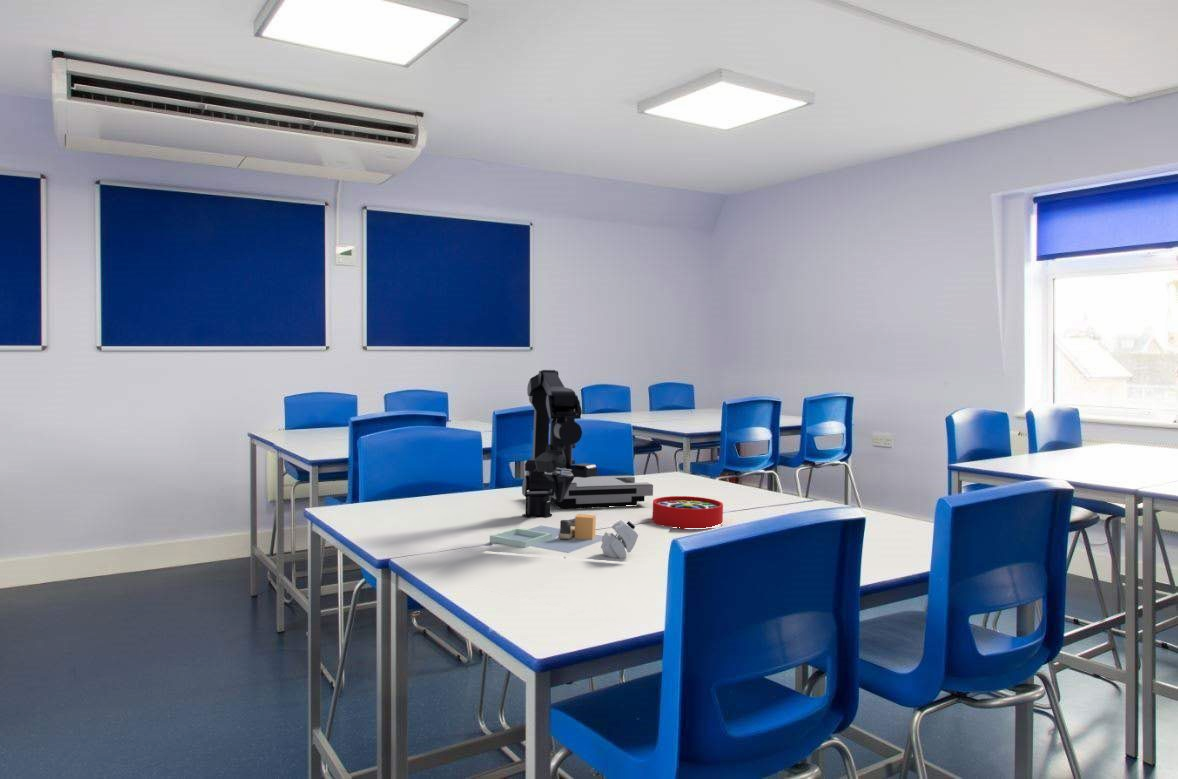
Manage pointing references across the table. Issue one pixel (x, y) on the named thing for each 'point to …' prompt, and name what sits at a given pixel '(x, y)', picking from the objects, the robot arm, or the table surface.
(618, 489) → the office tray
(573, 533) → the crank
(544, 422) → the robot arm
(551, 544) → the crank base
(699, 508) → the toy clock
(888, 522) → the table surface
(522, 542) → the tray
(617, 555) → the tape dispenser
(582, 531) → the block
